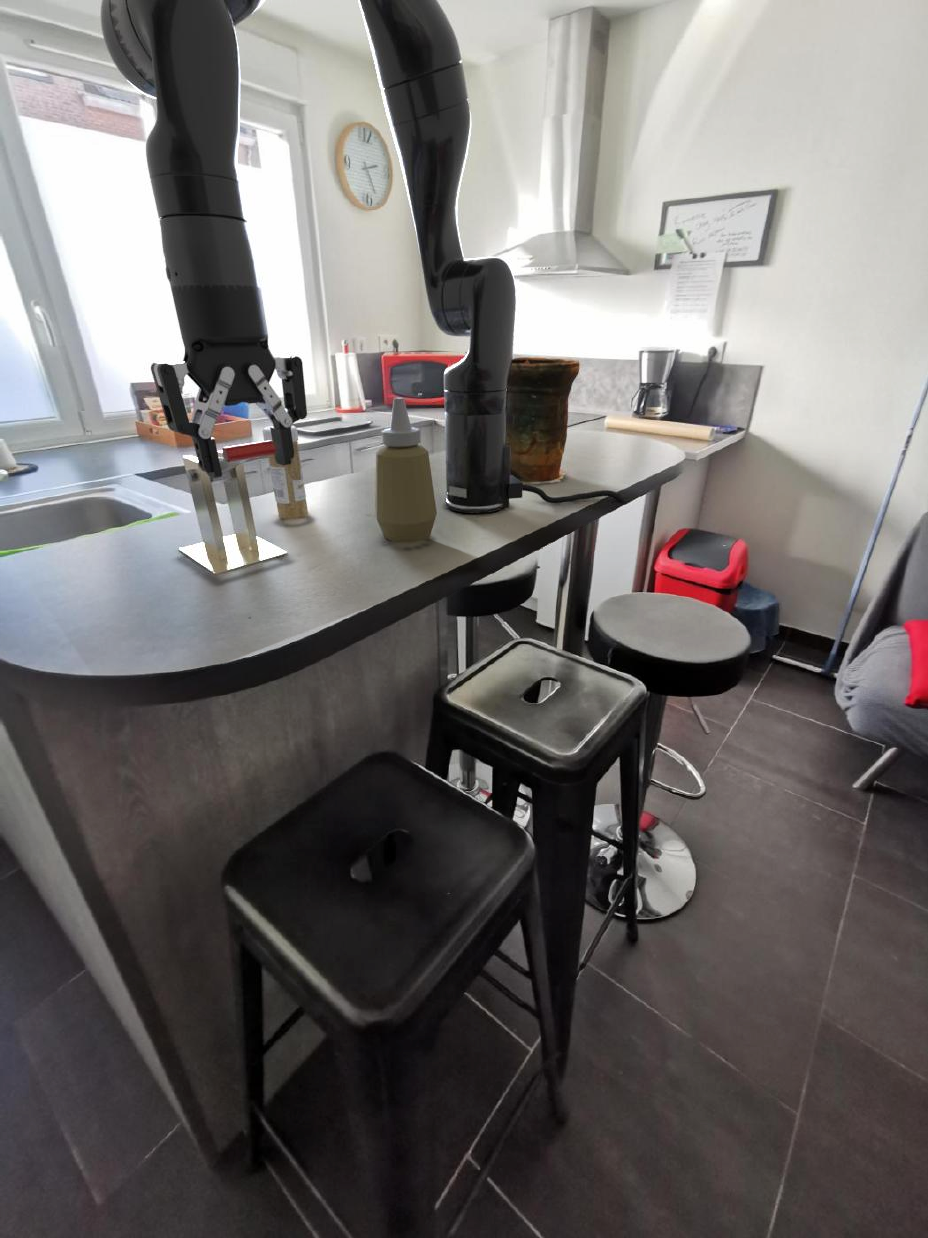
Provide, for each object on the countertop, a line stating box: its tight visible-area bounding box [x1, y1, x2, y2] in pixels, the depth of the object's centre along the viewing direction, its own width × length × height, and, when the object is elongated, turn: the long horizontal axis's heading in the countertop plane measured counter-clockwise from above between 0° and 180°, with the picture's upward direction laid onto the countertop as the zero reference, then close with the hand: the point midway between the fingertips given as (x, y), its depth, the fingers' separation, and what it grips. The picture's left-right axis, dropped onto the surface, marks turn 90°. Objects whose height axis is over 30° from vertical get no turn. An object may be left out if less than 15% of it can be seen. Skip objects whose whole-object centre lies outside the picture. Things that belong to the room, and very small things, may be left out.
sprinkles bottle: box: [262, 425, 309, 520], centre depth 81 cm, size 5×5×13 cm
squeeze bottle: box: [374, 397, 438, 543], centre depth 72 cm, size 8×8×18 cm
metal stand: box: [178, 450, 288, 576], centre depth 67 cm, size 11×9×13 cm
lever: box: [210, 440, 275, 486], centre depth 61 cm, size 13×5×2 cm, turn 43°
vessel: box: [506, 356, 580, 485], centre depth 101 cm, size 14×14×20 cm
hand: (250, 469), depth 58 cm, fingers open, 7 cm apart
